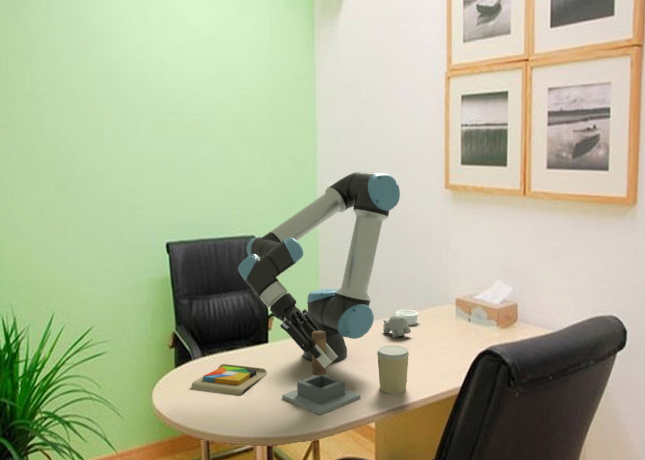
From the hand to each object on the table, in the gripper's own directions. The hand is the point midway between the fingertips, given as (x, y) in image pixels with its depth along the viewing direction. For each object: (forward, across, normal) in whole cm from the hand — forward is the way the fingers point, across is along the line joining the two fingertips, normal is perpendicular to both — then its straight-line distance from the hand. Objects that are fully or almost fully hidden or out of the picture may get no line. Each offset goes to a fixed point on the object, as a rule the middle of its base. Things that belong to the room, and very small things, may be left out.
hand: (331, 362), depth 179 cm
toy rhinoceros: (+7, -65, -9) cm, 66 cm away
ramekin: (+6, -83, -10) cm, 83 cm away
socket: (+6, 0, -10) cm, 12 cm away
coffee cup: (+18, -15, +1) cm, 23 cm away
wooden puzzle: (-16, -2, -34) cm, 37 cm away
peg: (0, 0, -5) cm, 5 cm away
